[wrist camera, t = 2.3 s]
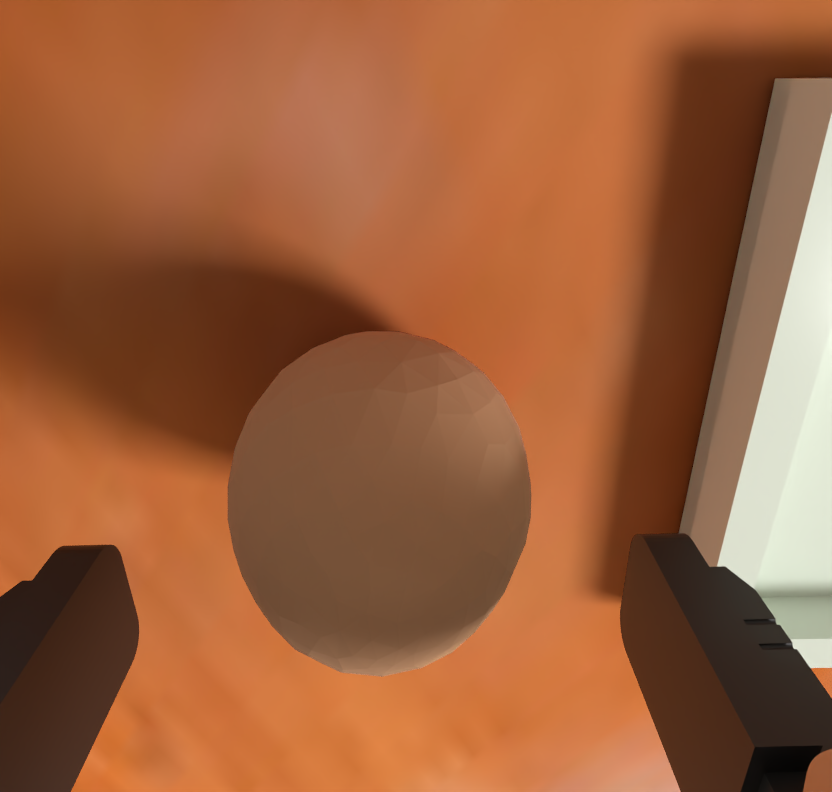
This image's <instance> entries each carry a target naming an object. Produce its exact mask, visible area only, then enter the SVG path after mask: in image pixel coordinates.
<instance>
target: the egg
mask: <svg viewBox="0 0 832 792" xmlns="http://www.w3.org/2000/svg"><path fill="white" fill-rule="evenodd" d="M530 518H531V483H530V477H529V470H528V463H527V456H526V451H525V448H524V444H523V440H522V436H521V433H520V429H519V426H518V424H517V422H516V420H515V418H514V416H513V414H512V412H511V410H510V408H509V406H508V405H507V403H506V401H505V399H504V397H503V395H502V394H501V393H500V392H499V391H498V389H497V388H496V387H495V386H494V385H493V383H492V382H491V381H490V380H489V379H488V377H487V376H486V375H485V374H484V373H483V372H482V371H481V370H480V369H479V368H478V367H476V366H475V365H474V364H472V363H471V362H470V361H468V360H467V359H465V358H464V357H463V356H461V355H460V354H459V353H457V352H456V351H454V350H452V349H450V348H448V347H446V346H444V345H442V344H440V343H438V342H437V341H435V340H431V339H427V338H423V337H419V336H415V335H411V334H407V333H403V332H397V331H365V332H359V333H354V334H348V335H344V336H342V337H339V338H337V339H334V340H332V341H329V342H327V343H324V344H322V345H319V346H317V347H314V348H312V349H311V350H309V351H308V352H306V353H305V354H304V355H302V356H301V357H299V358H298V359H296V360H295V361H294V362H292V363H291V364H289V365H288V366H287V367H285V368H284V369H282V370H281V371H280V373H279V374H278V375H277V377H276V378H275V379H274V380H273V382H272V383H271V384H270V385H269V387H268V388H267V389H266V391H265V392H264V393H263V395H262V396H261V397H260V399H259V400H258V401H257V403H256V404H255V405H254V407H253V408H252V409H251V411H250V412H249V414H248V416H247V419H246V421H245V424H244V426H243V429H242V432H241V434H240V437H239V439H238V442H237V444H236V447H235V450H234V455H233V461H232V466H231V472H230V477H229V482H228V523H229V528H230V533H231V539H232V544H233V549H234V553H235V556H236V559H237V562H238V565H239V568H240V571H241V574H242V577H243V579H244V580H245V582H246V584H247V586H248V588H249V590H250V592H251V594H252V596H253V598H254V600H255V602H256V603H257V605H258V606H259V608H260V609H261V611H262V612H263V614H264V615H265V617H266V618H267V619H268V621H269V622H270V624H271V625H272V626H273V627H274V628H275V629H276V630H277V632H278V633H279V634H280V635H281V636H282V637H283V638H284V639H285V640H286V641H287V642H288V643H289V644H290V645H291V646H292V647H293V648H294V649H295V650H297V651H299V652H301V653H303V654H305V655H307V656H309V657H311V658H313V659H315V660H317V661H319V662H320V663H322V664H325V665H327V666H329V667H331V668H333V669H335V670H337V671H339V672H342V673H352V674H361V675H371V676H381V677H382V676H387V675H391V674H396V673H401V672H405V671H410V670H414V669H419V668H422V667H424V666H426V665H428V664H430V663H432V662H434V661H436V660H438V659H440V658H442V657H444V656H446V655H448V654H450V653H452V652H453V651H454V650H455V649H456V648H458V647H459V646H460V645H461V644H462V643H463V642H464V641H465V640H467V639H468V638H469V637H470V636H471V635H472V634H473V633H474V632H475V631H476V630H477V629H478V628H479V626H480V625H481V624H482V623H483V622H484V620H485V619H486V618H487V617H488V616H489V614H490V613H491V612H492V611H493V609H494V608H495V606H496V604H497V603H498V601H499V600H500V598H501V597H502V595H503V594H504V592H505V590H506V588H507V585H508V583H509V581H510V578H511V576H512V574H513V571H514V569H515V567H516V564H517V562H518V560H519V557H520V555H521V553H522V551H523V548H524V546H525V543H526V538H527V533H528V528H529V523H530Z"/></svg>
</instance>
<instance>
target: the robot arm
mask: <svg viewBox="0 0 832 792" xmlns="http://www.w3.org/2000/svg"><path fill="white" fill-rule="evenodd" d="M620 624H621V633H622V639H623V643H624V647H625V650H626V653H627V655H628V658H629V661H630V663H631V666H632V668H633V671H634V673H635V676H636V678H637V681H638V683H639V686H640V689H641V691H642V694H643V696H644V699H645V701H646V704H647V706H648V709H649V711H650V714H651V717H652V719H653V722H654V724H655V727H656V729H657V732H658V734H659V737H660V740H661V742H662V745H663V747H664V750H665V752H666V755H667V757H668V760H669V762H670V765H671V768H672V770H673V773H674V775H675V778H676V780H677V783H678V785H679V788H680V790H681V792H832V698H831V697H830V696H829V694H828V693H827V691H826V690H825V688H824V687H823V686H822V684H821V683H820V681H819V680H818V678H817V677H816V676H815V674H814V673H813V671H812V670H811V668H810V667H809V666H808V664H807V663H806V661H805V660H804V658H803V657H802V656H801V654H800V653H799V651H798V650H797V649H794V648H793V645H792V644H793V643H792V641H791V640H790V638H789V637H788V636H787V634H786V633H785V631H784V630H783V628H782V627H781V626H780V625H777V624H776V618H775V617H774V616H773V614H772V613H771V611H770V610H769V608H768V607H767V606H766V604H765V603H764V601H763V600H762V598H761V597H760V596H759V594H758V593H757V591H756V590H755V589H754V588H752V587H751V586H750V585H748V584H747V583H746V582H745V581H743V580H742V579H741V578H739V577H738V576H737V575H736V574H734V573H733V572H732V571H730V570H729V569H728V568H727V567H725V566H717V567H709V565H708V564H707V562H706V561H705V559H704V558H703V556H702V554H701V553H700V551H699V550H698V548H697V547H696V545H695V543H694V542H693V540H692V539H691V538H690V537H689V536H688V535H687V534H685V533H672V534H637V535H635V536H634V537H633V539H632V542H631V546H630V552H629V558H628V564H627V571H626V577H625V583H624V590H623V596H622V602H621V609H620ZM138 639H139V622H138V616H137V613H136V609H135V605H134V601H133V598H132V594H131V590H130V587H129V583H128V579H127V575H126V572H125V568H124V564H123V561H122V557H121V554H120V552H119V550H118V549H117V547H115V546H114V545H79V546H62V547H59V548H58V549H57V550H56V551H55V552H54V553H53V554H52V555H51V557H50V558H49V559H48V561H47V562H46V563H45V565H44V566H43V567H42V569H41V570H40V571H39V572H38V574H37V575H36V576H35V578H34V579H33V580H32V581H21V582H20V583H18V584H17V585H16V586H14V587H13V588H12V589H10V590H9V591H8V592H6V593H5V594H4V595H2V596H1V597H0V792H71V790H72V788H73V786H74V784H75V782H76V779H77V777H78V775H79V773H80V771H81V769H82V767H83V765H84V763H85V761H86V758H87V756H88V754H89V752H90V750H91V748H92V746H93V744H94V742H95V740H96V738H97V735H98V733H99V731H100V729H101V727H102V725H103V723H104V721H105V719H106V717H107V714H108V712H109V710H110V708H111V706H112V704H113V702H114V700H115V698H116V696H117V694H118V691H119V689H120V687H121V685H122V683H123V681H124V679H125V677H126V675H127V673H128V670H129V668H130V666H131V664H132V662H133V660H134V657H135V654H136V650H137V645H138Z"/></svg>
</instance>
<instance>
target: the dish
mask: <svg viewBox="0 0 832 792" xmlns="http://www.w3.org/2000/svg"><path fill="white" fill-rule="evenodd" d="M679 533H685V534H687V535H688V536H689V537H690V538H691V539H692V540H693V542H694V543H695V545H696V547H697V548H698V550H699V551H700V553H701V554H702V556H703V558H704V559H705V561H706V562H707V564H708V565H709V567H717V566H725V567H727V568H728V569H729V570H730V571H732V572H733V573H734V574H736V575H737V576H738V577H739V578H741V579H742V580H743V581H745V582H746V583H747V584H748V585H750V586H751V587H752V588H754V589H755V590H756V591H757V593H758V594H759V596H760V597H761V598H762V600H763V601H764V603H765V604H766V606H767V607H768V608H769V610H770V611H771V613H772V614H773V616H774V617H775V618H776V624H777V625H780V626H781V627H782V628H783V630H784V631H785V633H786V634H787V636H788V637H789V638H790V640H791V641H792V643H793V644H792V645H793V648H794V649H797V650H798V651H799V653H800V654H801V656H802V657H803V658H804V660H805V661H806V663H807V664H808V666H809V667H810V668H832V78H775V82H774V87H773V91H772V96H771V101H770V105H769V110H768V115H767V120H766V124H765V129H764V134H763V138H762V143H761V148H760V153H759V157H758V162H757V167H756V171H755V176H754V181H753V186H752V190H751V195H750V200H749V204H748V209H747V214H746V219H745V223H744V228H743V233H742V237H741V242H740V247H739V251H738V256H737V261H736V266H735V270H734V275H733V280H732V284H731V289H730V294H729V299H728V303H727V308H726V313H725V317H724V322H723V327H722V332H721V336H720V341H719V346H718V350H717V355H716V360H715V365H714V369H713V374H712V379H711V383H710V388H709V393H708V397H707V402H706V407H705V412H704V416H703V421H702V426H701V430H700V435H699V440H698V445H697V449H696V454H695V459H694V463H693V468H692V473H691V478H690V482H689V487H688V492H687V496H686V501H685V506H684V511H683V515H682V520H681V525H680V529H679Z"/></svg>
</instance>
